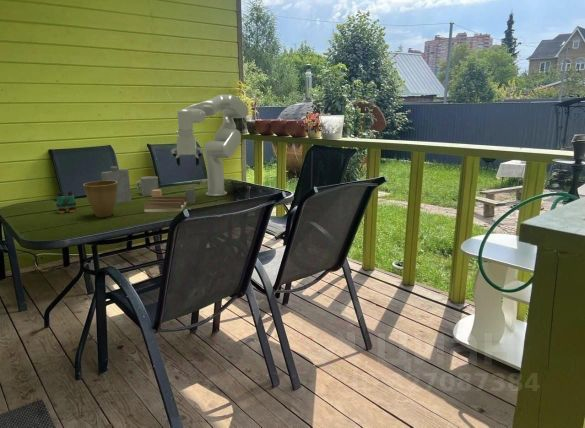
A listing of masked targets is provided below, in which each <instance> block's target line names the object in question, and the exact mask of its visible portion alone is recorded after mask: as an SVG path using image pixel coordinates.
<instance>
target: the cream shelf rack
mask: <svg viewBox="0 0 585 428" xmlns="http://www.w3.org/2000/svg"><path fill="white" fill-rule="evenodd" d="M187 205H188V203H187V196H185V195H167V196H163V195H162V196H155V197H152V196H151V199H147V202H144V203H143V209H144V213H169V212H170V213H172V212H173V213H174V212H182V211H183V210H184V209H185V208H186V207H187Z"/></svg>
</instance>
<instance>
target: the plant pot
mask: <svg viewBox="0 0 585 428" xmlns="http://www.w3.org/2000/svg"><path fill="white" fill-rule="evenodd" d="M82 186H83V189H84V193H85V195H86V198H87V200H88V203H89V205H90V208H91V210H92V212H93V213H94V215H95V216H96V217H97V218H105V217H110V216H113V214H114V210H115V208H116V207H115V205H116V204H115V202H116V194H117V181H111V180H106V181H102V180H95V181H89V182H86V183H83V185H82Z"/></svg>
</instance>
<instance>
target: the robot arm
mask: <svg viewBox="0 0 585 428" xmlns="http://www.w3.org/2000/svg"><path fill="white" fill-rule="evenodd" d="M220 112H221V113H222V114H221V116H222V124H221V125H220V127H219V128H218V130H217V132H216V133H215V135H214V140H210V141H207V142H206V143H205V144H204V147H203V148H201V147H199V146H197V140H196V136H195V135H194V124H200V123H203V122H204V121H205V120H206V117H210V116H215V115H216V114H218V113H220ZM249 112H250V111H249V108H248V105H247V104H246V103H245V102H244V101H243V100H242V99H240V97H238V96H237V95H235V94H232V93H231V94H218V95H216V96H214V97H212V98H210V99H208V100H205V101H201V102H198V103H195V104H191V105H189V106H186V107H185V108H183V109H178V110H177V126H178V130H177V131H175V134H177V135H178V136H177V138H176V147H174V148H172V149H170V153H171V154H172V156H173V157H175V160H176V165H177V167H180V166H181V158H180V156H192V155H193V156H195V166H199V164H200V157H201V156H202V155H203V153H204V155H205V161H206V175H207V176H206V177H207V192H205V196H208V197H222V196H227V195H228V192H227V191H225V175H224V164H223V161H222V159H229V158H231V157H232V156H233V154H234V153H235V152H236V150H237V149H238V147H239V146H240V144H241V142H242V141H241V140H242V134H241V132H240V130H238V129H237V125H236V123H235V121H234V119H243V118H246V117H248V115H249ZM175 151H176V152H177V153H176V152H175ZM198 151H200V152H199V153H198Z"/></svg>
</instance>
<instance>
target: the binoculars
mask: <svg viewBox="0 0 585 428" xmlns="http://www.w3.org/2000/svg"><path fill="white" fill-rule="evenodd" d="M76 206H77V202H76V200H75V195H74V194H73V190H71V191H68V192H67V195H66V196H64V195H63V192H60V191H59V192H58V191H57V196H56V208H57V209H58V213H59V214H65V213H66V211H67V210H66V209H68V212H69V213H75V212H76V210H77V207H76Z"/></svg>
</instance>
